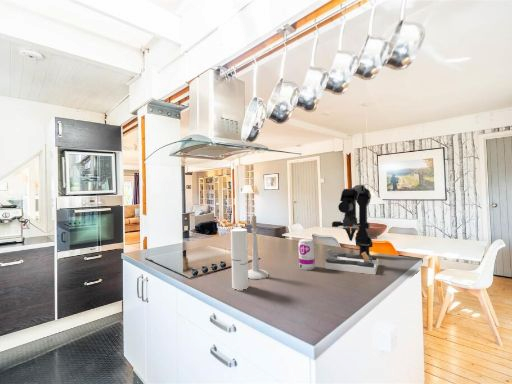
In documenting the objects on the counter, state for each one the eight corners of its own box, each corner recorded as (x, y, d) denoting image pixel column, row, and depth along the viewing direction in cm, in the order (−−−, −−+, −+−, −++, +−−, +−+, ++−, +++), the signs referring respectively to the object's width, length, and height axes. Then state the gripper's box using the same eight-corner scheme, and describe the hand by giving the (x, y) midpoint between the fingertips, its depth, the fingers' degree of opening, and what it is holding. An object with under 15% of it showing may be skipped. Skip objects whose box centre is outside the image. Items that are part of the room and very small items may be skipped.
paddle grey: (333, 258, 145) (328, 249, 147) (335, 256, 145) (330, 248, 146) (331, 259, 142) (326, 251, 143) (333, 258, 141) (328, 250, 142)
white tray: (333, 260, 152) (333, 251, 152) (378, 265, 140) (378, 255, 140) (325, 268, 137) (325, 259, 137) (375, 274, 125) (374, 264, 125)
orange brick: (367, 261, 137) (362, 252, 138) (370, 260, 136) (365, 251, 137) (366, 263, 133) (361, 254, 134) (369, 262, 132) (364, 253, 133)
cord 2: (332, 255, 152) (332, 251, 152) (377, 259, 140) (376, 255, 140) (331, 256, 149) (331, 253, 149) (376, 260, 138) (376, 257, 138)
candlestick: (271, 272, 133) (269, 213, 133) (264, 280, 121) (262, 216, 121) (247, 270, 137) (246, 213, 137) (238, 278, 124) (237, 216, 124)
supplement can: (310, 271, 133) (310, 242, 133) (296, 268, 138) (295, 240, 138) (317, 267, 139) (316, 239, 139) (303, 265, 144) (302, 238, 144)
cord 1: (326, 261, 140) (326, 257, 140) (374, 266, 128) (374, 262, 128) (325, 262, 137) (325, 258, 137) (374, 268, 125) (373, 263, 125)
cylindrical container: (233, 284, 116) (231, 228, 116) (249, 284, 116) (247, 228, 116) (231, 290, 109) (229, 231, 109) (248, 290, 109) (246, 231, 109)
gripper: (329, 212, 138) (329, 241, 138) (366, 213, 128) (367, 244, 128) (334, 211, 148) (334, 238, 147) (369, 211, 138) (370, 241, 138)
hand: (350, 240), depth 140 cm, fingers closed
